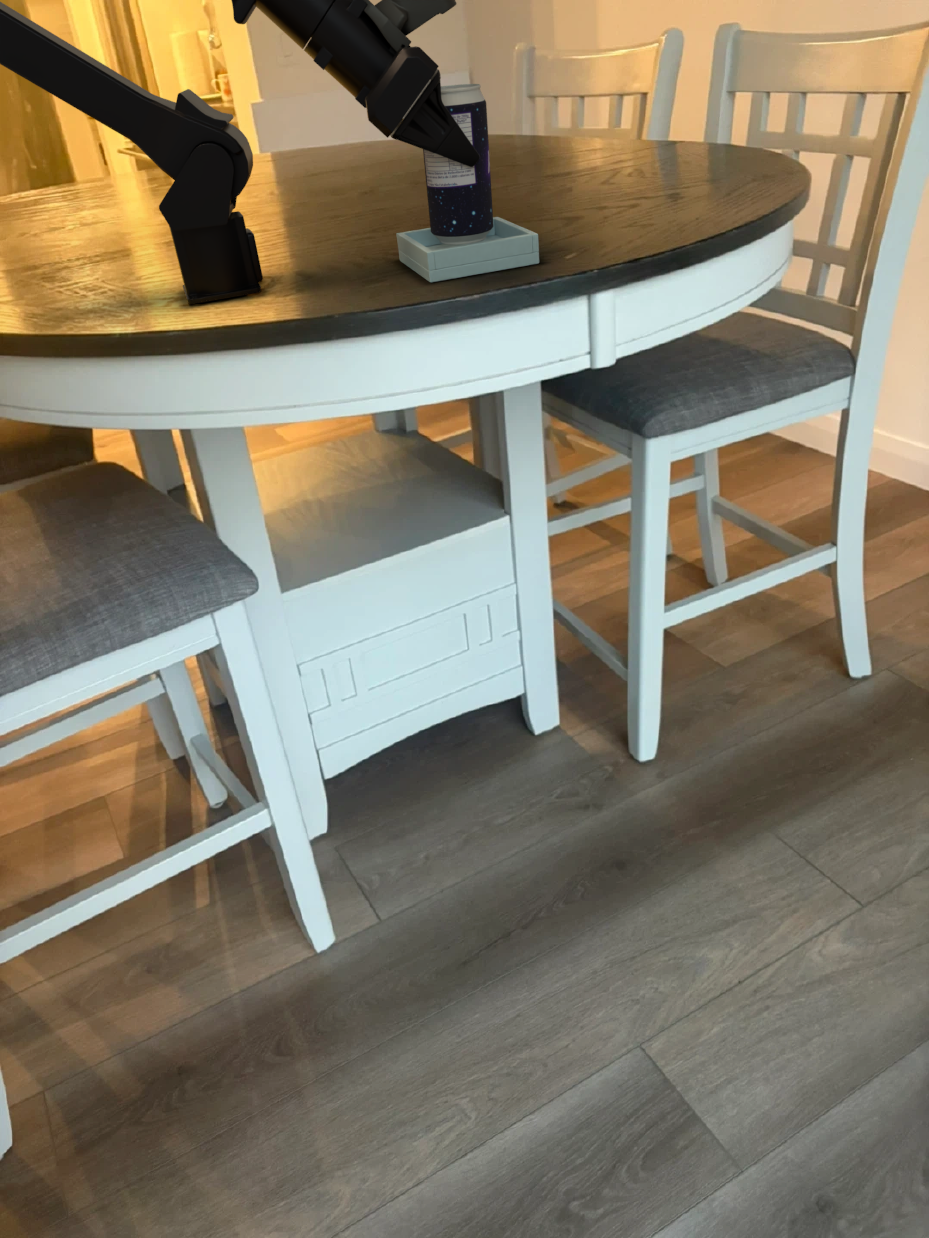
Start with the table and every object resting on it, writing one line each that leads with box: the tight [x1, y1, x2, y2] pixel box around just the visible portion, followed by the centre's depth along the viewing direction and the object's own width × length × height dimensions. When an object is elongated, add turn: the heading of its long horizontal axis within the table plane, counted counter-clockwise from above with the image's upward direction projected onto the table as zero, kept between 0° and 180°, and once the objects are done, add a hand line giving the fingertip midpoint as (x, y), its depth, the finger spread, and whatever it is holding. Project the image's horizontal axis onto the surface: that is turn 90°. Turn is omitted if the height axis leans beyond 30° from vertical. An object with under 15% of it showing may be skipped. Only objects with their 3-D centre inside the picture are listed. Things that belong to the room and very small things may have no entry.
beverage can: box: [422, 83, 494, 245], centre depth 79 cm, size 6×6×12 cm
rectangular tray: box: [395, 216, 540, 284], centre depth 83 cm, size 10×10×2 cm
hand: (472, 158), depth 79 cm, fingers closed on beverage can, 5 cm apart
